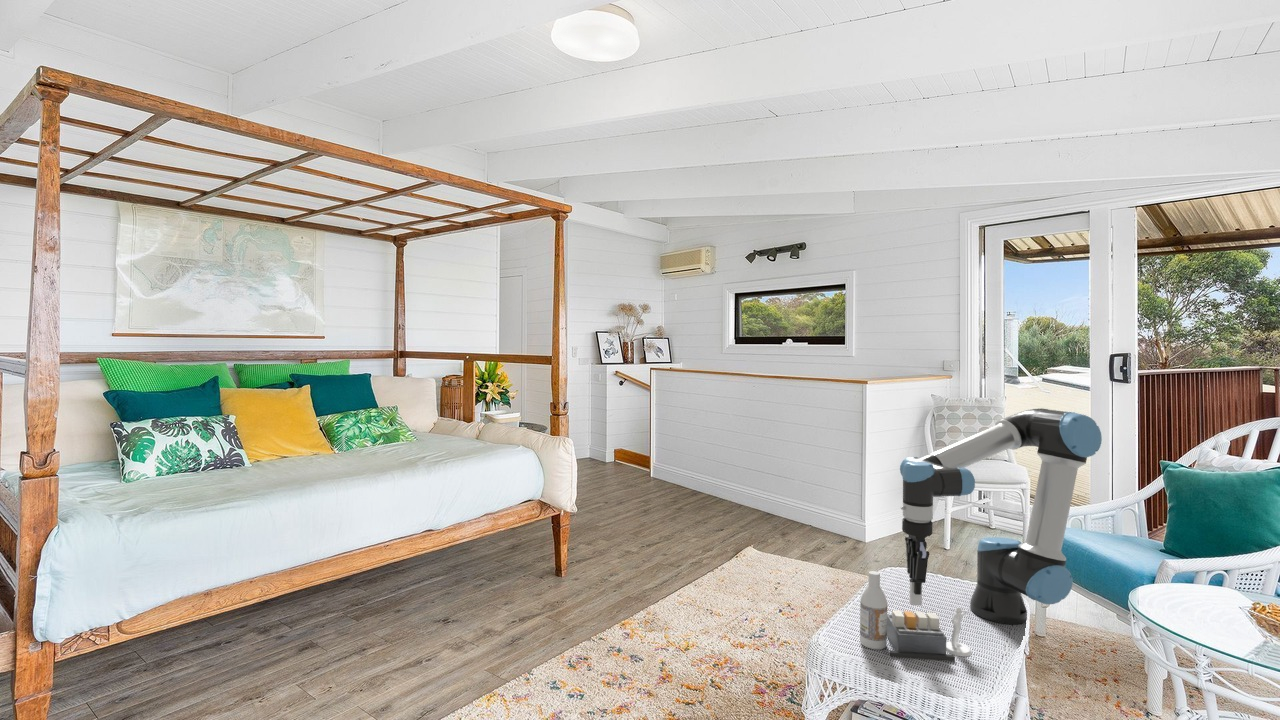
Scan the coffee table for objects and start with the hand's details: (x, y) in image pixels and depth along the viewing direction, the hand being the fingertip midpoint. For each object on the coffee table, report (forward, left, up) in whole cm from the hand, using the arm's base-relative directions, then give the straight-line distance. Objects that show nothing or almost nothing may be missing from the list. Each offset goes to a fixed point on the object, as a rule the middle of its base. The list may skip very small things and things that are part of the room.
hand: (915, 604), depth 167 cm
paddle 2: (+1, 0, -6) cm, 6 cm away
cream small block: (+4, 0, -6) cm, 7 cm away
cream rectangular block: (-5, 0, -6) cm, 7 cm away
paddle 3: (-2, 0, -6) cm, 6 cm away
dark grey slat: (0, +6, -12) cm, 13 cm away
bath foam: (+11, 0, -12) cm, 16 cm away
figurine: (-11, 0, -12) cm, 16 cm away
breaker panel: (0, 0, -12) cm, 12 cm away
